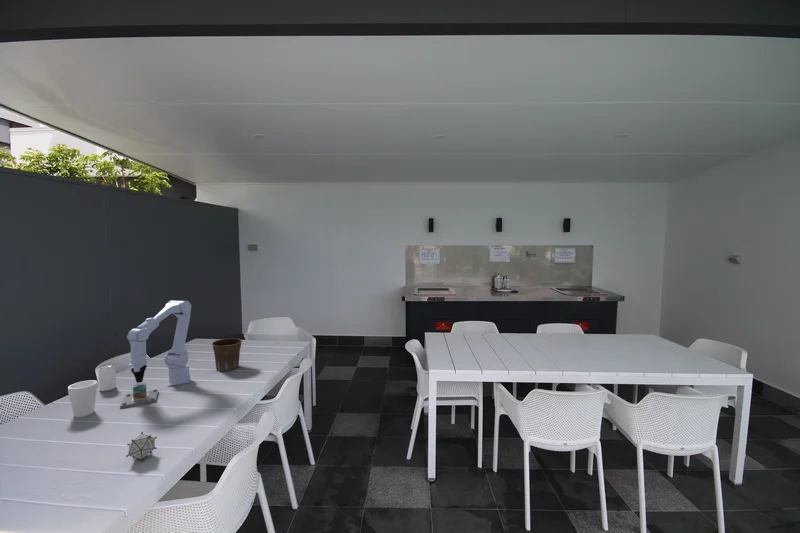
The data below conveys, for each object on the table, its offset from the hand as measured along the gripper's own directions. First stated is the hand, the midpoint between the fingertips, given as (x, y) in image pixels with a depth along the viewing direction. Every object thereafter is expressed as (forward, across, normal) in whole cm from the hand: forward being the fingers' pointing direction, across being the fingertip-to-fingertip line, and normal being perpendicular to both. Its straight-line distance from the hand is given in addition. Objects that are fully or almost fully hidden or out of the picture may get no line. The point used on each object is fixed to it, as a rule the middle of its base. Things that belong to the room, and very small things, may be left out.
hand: (139, 382), depth 160 cm
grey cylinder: (+9, -24, -16) cm, 30 cm away
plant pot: (+9, -26, +39) cm, 48 cm away
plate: (+9, 0, 0) cm, 9 cm away
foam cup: (+9, +4, -19) cm, 21 cm away
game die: (+9, +56, +7) cm, 57 cm away
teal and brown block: (+7, 0, 0) cm, 7 cm away
